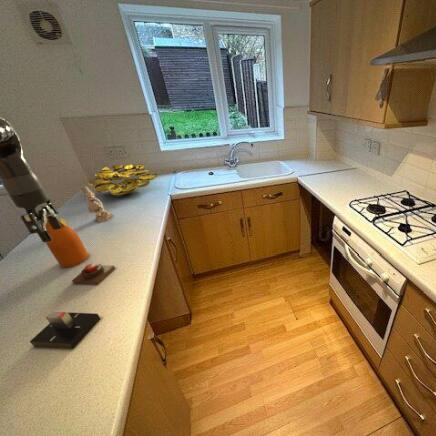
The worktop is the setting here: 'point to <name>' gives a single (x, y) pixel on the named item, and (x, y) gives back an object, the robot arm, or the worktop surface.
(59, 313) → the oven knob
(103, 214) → the figurine
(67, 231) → the wine bottle
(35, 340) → the panel
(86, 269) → the button
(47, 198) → the robot arm
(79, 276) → the button block
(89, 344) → the worktop surface
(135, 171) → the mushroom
